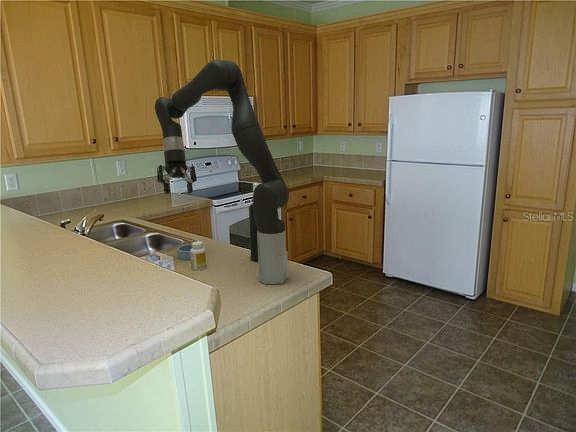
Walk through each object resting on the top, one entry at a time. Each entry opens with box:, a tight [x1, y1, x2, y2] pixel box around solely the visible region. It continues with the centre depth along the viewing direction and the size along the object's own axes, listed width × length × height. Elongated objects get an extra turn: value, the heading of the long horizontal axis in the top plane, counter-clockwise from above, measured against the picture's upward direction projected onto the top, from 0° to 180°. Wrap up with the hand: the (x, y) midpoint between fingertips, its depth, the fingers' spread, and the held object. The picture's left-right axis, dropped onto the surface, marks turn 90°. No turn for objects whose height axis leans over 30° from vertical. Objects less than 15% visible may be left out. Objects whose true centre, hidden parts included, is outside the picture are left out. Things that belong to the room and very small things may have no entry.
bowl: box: [176, 243, 193, 261], centre depth 159 cm, size 10×10×4 cm
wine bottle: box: [248, 182, 260, 263], centre depth 151 cm, size 6×6×30 cm
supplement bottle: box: [190, 240, 207, 271], centre depth 145 cm, size 5×5×10 cm
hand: (179, 193), depth 146 cm, fingers open, 8 cm apart
